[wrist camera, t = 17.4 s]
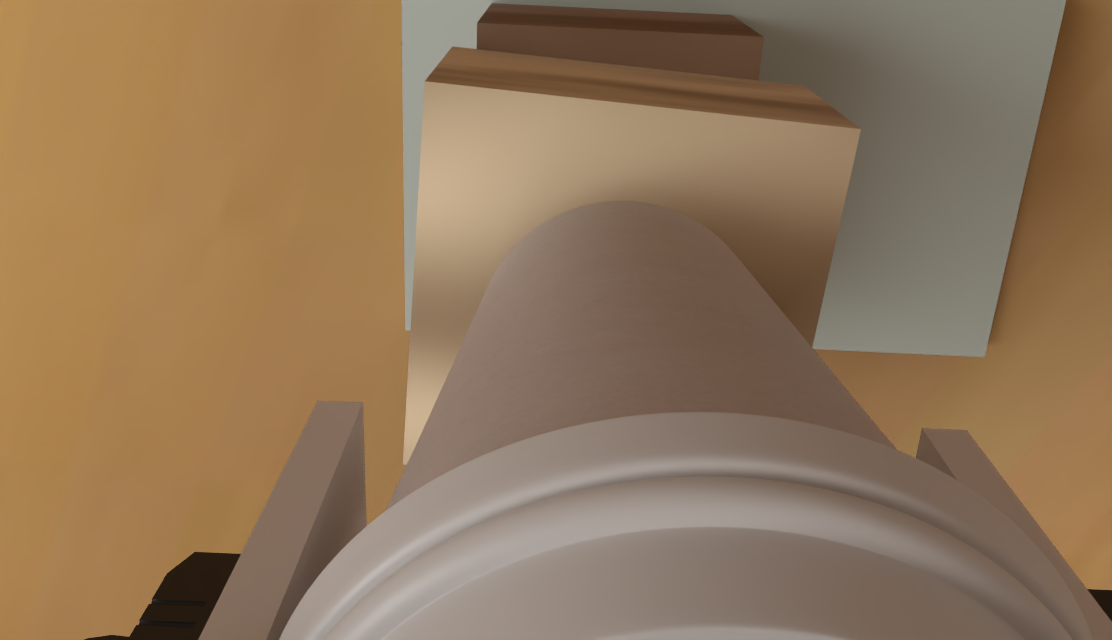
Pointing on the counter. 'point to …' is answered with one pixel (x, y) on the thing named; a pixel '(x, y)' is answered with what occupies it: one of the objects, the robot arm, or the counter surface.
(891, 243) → the board
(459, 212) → the oak brick
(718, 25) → the walnut base brick
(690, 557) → the coffee cup
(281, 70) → the counter surface
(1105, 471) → the counter surface
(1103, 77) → the counter surface
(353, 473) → the robot arm
